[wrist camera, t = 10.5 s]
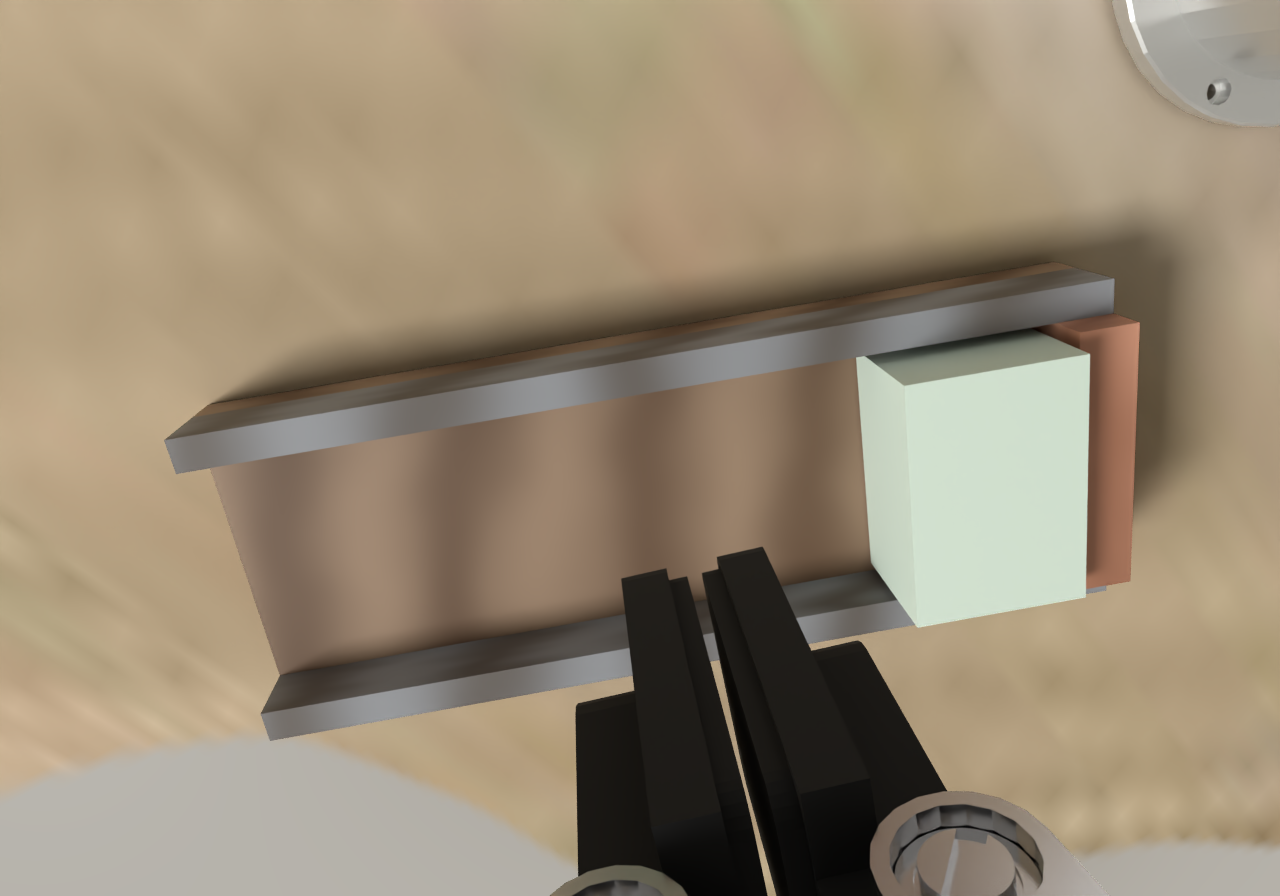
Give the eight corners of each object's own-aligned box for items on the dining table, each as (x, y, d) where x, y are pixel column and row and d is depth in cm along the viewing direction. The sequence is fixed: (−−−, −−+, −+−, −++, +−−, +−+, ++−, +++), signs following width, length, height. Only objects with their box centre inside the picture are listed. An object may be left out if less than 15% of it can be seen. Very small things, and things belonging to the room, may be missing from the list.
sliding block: (1015, 321, 34) (1089, 353, 29) (1017, 536, 37) (1085, 597, 32) (855, 349, 33) (904, 385, 29) (870, 562, 36) (917, 627, 32)
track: (1053, 261, 35) (1141, 286, 29) (1052, 545, 39) (1129, 610, 34) (207, 404, 34) (144, 455, 29) (298, 679, 38) (257, 767, 33)
